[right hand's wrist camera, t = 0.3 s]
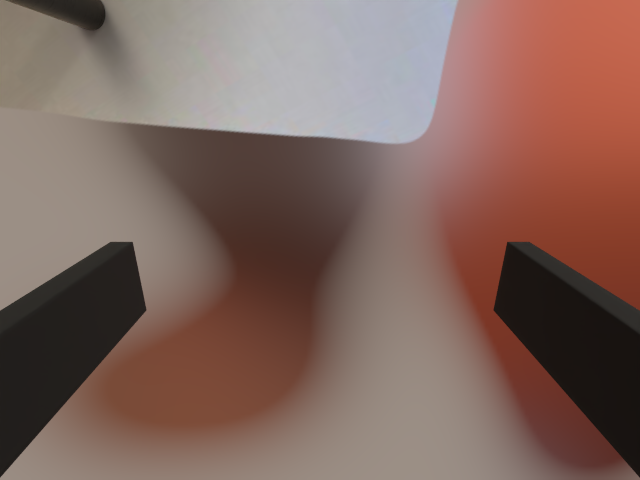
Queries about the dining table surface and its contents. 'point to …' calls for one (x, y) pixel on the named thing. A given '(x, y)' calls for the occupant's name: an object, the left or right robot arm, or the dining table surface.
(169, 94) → the dining table surface
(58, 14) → the peg
